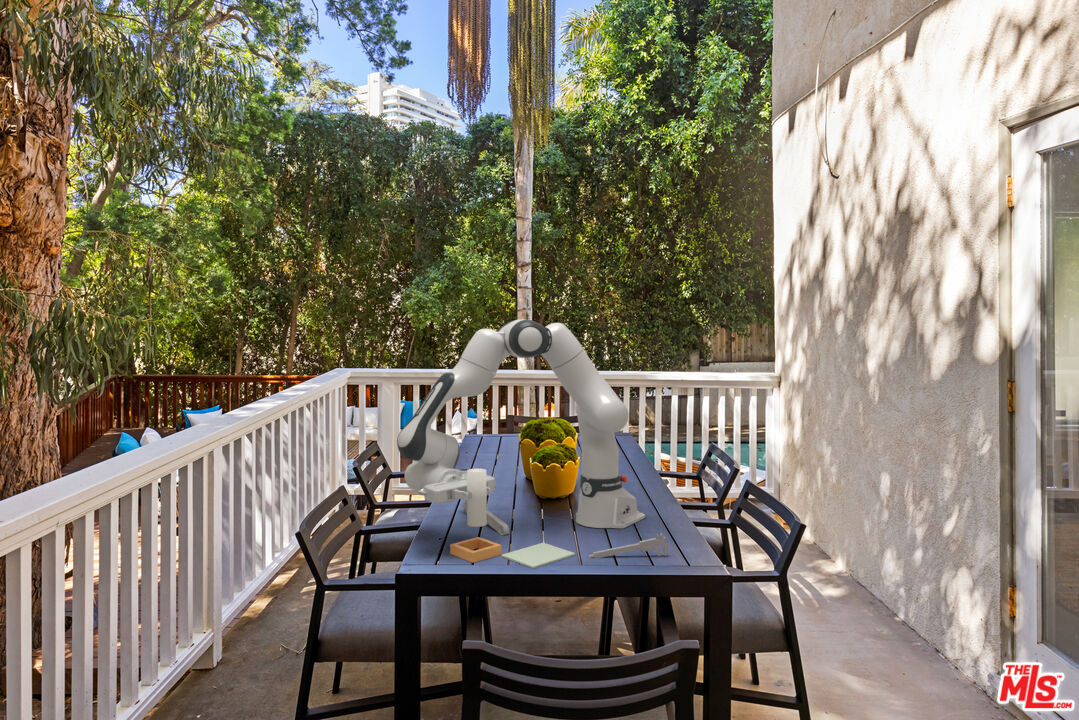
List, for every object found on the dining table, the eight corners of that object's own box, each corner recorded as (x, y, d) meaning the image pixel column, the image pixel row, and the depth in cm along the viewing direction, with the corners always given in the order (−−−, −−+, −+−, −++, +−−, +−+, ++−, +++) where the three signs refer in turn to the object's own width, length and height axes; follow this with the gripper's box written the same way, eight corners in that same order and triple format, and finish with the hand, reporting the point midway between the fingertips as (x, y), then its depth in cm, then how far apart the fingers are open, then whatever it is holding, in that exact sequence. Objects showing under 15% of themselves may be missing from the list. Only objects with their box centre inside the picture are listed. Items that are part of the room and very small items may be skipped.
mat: (543, 544, 196) (543, 542, 196) (575, 555, 188) (575, 553, 188) (501, 556, 186) (501, 554, 186) (533, 568, 177) (533, 566, 177)
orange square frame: (478, 546, 195) (478, 536, 194) (501, 554, 188) (501, 545, 188) (450, 553, 188) (450, 544, 188) (472, 562, 181) (472, 553, 181)
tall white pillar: (478, 520, 191) (478, 467, 190) (490, 524, 188) (490, 470, 187) (463, 523, 188) (463, 470, 187) (475, 528, 184) (475, 473, 183)
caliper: (666, 556, 188) (666, 532, 188) (667, 557, 187) (667, 533, 187) (588, 557, 187) (588, 533, 186) (589, 559, 186) (589, 534, 185)
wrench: (502, 546, 204) (458, 509, 230) (508, 545, 205) (463, 508, 231) (504, 518, 203) (459, 485, 228) (510, 518, 204) (464, 484, 229)
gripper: (414, 479, 189) (446, 488, 179) (475, 467, 203) (508, 475, 193) (414, 503, 189) (446, 513, 179) (475, 490, 204) (508, 499, 194)
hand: (479, 494), depth 186 cm, fingers closed on tall white pillar, 5 cm apart
